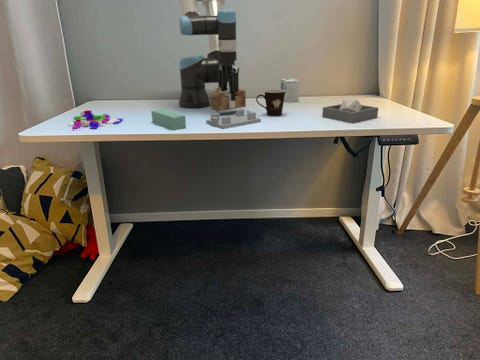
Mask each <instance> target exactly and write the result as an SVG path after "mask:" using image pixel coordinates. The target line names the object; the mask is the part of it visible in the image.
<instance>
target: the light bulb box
mask: <svg viewBox="0 0 480 360" xmlns="http://www.w3.org/2000/svg"><path fill="white" fill-rule="evenodd" d="M280 90H284V91H285V95H284V103H285V104H286V103H287V104H289V103H299V90H300V80H298V79H297V78H292V77H291V78H288V77H287V78H281V79H280Z"/></svg>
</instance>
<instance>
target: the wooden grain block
mask: <svg viewBox="0 0 480 360" xmlns="http://www.w3.org/2000/svg"><path fill="white" fill-rule="evenodd" d="M246 93H247V92H246V90H245V89H244V90H243V89H239V91H238V92H236V93H235V108H231V109H230V108H229V95H228V96H225V94H224V93H222V91H221V87H219V86H218V87H213V92H211V93H210V100H211V101H210V102H211V103H210V105H211V111H215V112H222V111H228V110H233V109H242V108H246V106H247V105H246V104H247V103H246V102H247V101H246V97H247V96H246Z"/></svg>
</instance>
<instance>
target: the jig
mask: <svg viewBox="0 0 480 360" xmlns="http://www.w3.org/2000/svg"><path fill="white" fill-rule="evenodd" d="M246 113H247V114H245V110H244V109H243V108H238V109H236V110H235V115H230V116H228V115H227V116H222V117H220V113H218V112H215V113H210V119H206V122H205V124H208V125H209V126H213V127H216V128H219V129H221V128H222V130H225V129H229V127H231V128H234V126H236V127H240V125H241V126H246V124H247V125H251V124H256V123H261V121H262V119H261V118H259V117H257V116H256V115H257V113H256V111H252V110H247V112H246ZM224 128H225V129H224Z"/></svg>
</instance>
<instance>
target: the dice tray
mask: <svg viewBox="0 0 480 360" xmlns="http://www.w3.org/2000/svg"><path fill="white" fill-rule="evenodd" d="M341 104H342V103H339V104H333V105H329V106H323V107H322V118H326V119H330V120H334V121H339V122H343V123H348V124H355V123H359V122H364V121H369V120H372V119H377V118H378V116H379V107H376V106H369V105H365V104H361V105H362V107H361V109H360V111H356V112H348V111H343V110H339V108H340V106H341Z"/></svg>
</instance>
